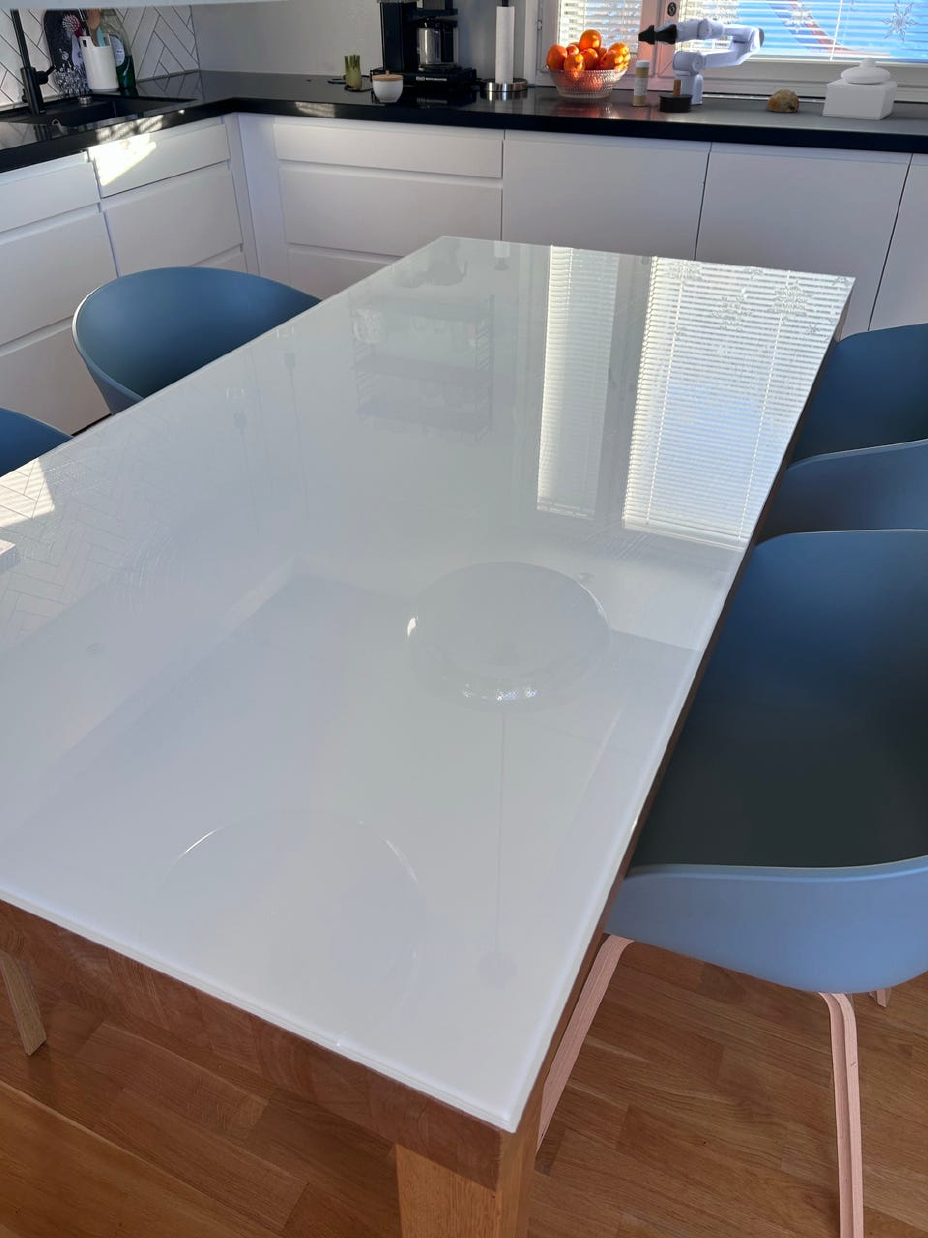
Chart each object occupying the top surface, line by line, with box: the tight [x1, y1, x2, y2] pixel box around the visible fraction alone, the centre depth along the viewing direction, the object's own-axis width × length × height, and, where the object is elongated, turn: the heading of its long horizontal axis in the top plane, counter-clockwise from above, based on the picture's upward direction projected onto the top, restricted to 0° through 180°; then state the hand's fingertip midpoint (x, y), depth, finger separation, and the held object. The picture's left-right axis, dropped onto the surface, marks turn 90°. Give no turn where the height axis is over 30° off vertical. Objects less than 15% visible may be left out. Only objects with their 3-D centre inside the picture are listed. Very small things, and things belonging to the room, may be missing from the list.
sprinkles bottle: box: [632, 59, 651, 108], centre depth 319 cm, size 5×5×13 cm
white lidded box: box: [821, 56, 899, 121], centre depth 300 cm, size 18×18×16 cm
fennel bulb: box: [344, 53, 363, 91], centre depth 358 cm, size 6×5×12 cm
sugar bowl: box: [371, 70, 404, 103], centre depth 333 cm, size 11×11×9 cm
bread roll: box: [765, 89, 800, 114], centre depth 310 cm, size 10×10×8 cm
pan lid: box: [659, 78, 693, 99], centre depth 309 cm, size 11×11×6 cm
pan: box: [658, 97, 692, 114], centre depth 312 cm, size 10×10×4 cm
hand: (646, 36), depth 306 cm, fingers open, 7 cm apart
